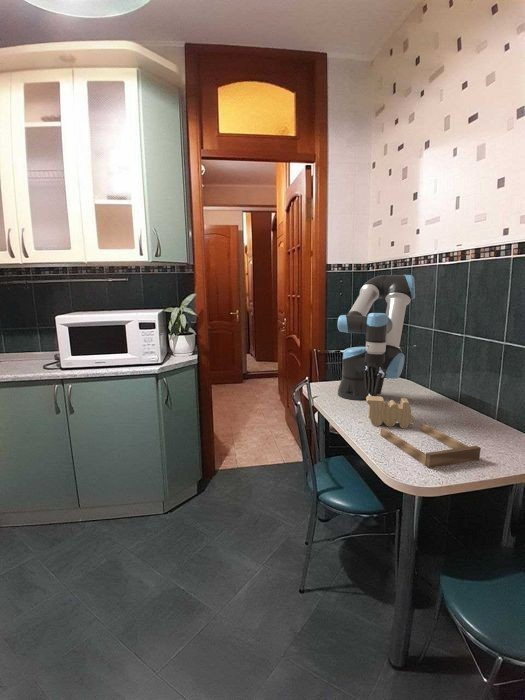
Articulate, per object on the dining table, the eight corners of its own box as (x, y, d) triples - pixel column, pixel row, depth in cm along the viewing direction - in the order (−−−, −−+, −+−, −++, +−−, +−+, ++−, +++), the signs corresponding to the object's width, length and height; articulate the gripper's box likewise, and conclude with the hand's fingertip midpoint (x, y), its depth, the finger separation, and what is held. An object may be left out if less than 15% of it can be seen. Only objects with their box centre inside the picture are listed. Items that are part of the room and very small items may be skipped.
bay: (380, 435, 122) (380, 424, 121) (423, 429, 126) (424, 419, 126) (428, 468, 99) (429, 455, 99) (479, 460, 104) (480, 447, 103)
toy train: (414, 429, 127) (416, 403, 125) (365, 425, 131) (367, 399, 129) (411, 423, 132) (413, 398, 131) (364, 419, 136) (366, 395, 134)
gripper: (358, 350, 143) (355, 405, 147) (376, 355, 131) (372, 415, 135) (374, 349, 145) (370, 403, 149) (393, 354, 133) (389, 414, 137)
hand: (371, 409), depth 142 cm, fingers closed
